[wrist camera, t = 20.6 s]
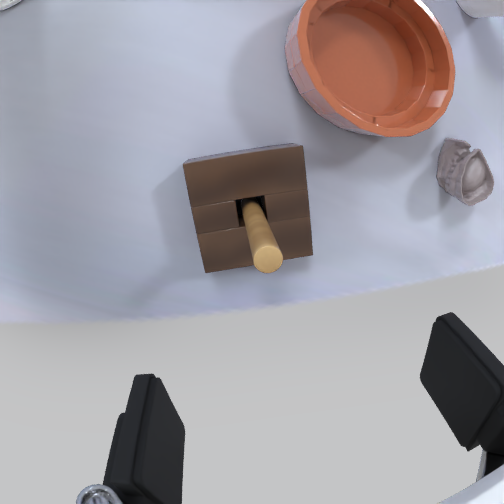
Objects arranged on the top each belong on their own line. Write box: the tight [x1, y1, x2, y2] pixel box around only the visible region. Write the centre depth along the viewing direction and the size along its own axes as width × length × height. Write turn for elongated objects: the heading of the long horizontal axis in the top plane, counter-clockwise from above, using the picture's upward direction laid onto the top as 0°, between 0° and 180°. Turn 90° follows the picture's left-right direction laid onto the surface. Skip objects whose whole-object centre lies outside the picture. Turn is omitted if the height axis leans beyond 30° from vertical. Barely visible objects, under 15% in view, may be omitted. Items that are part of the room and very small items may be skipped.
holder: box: [183, 143, 313, 273], centre depth 30 cm, size 11×11×4 cm
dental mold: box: [436, 138, 494, 206], centre depth 30 cm, size 8×7×5 cm
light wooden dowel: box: [241, 197, 283, 273], centre depth 25 cm, size 2×2×14 cm
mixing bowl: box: [285, 0, 455, 137], centre depth 24 cm, size 17×17×6 cm
